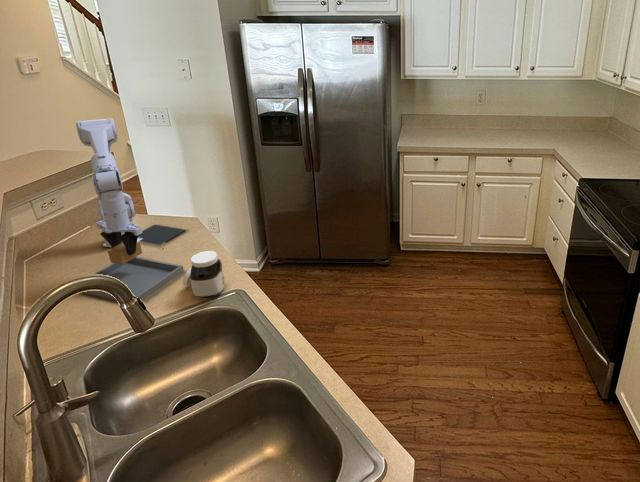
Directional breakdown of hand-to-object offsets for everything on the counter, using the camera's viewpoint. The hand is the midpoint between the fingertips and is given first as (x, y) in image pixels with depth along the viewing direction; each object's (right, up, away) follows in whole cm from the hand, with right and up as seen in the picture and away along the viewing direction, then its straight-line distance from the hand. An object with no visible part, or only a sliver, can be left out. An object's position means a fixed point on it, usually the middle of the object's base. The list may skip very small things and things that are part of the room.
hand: (125, 252), depth 129 cm
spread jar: (+25, -11, -3) cm, 28 cm away
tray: (+2, -9, 0) cm, 9 cm away
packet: (0, -2, +1) cm, 2 cm away
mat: (-6, +2, +27) cm, 28 cm away
